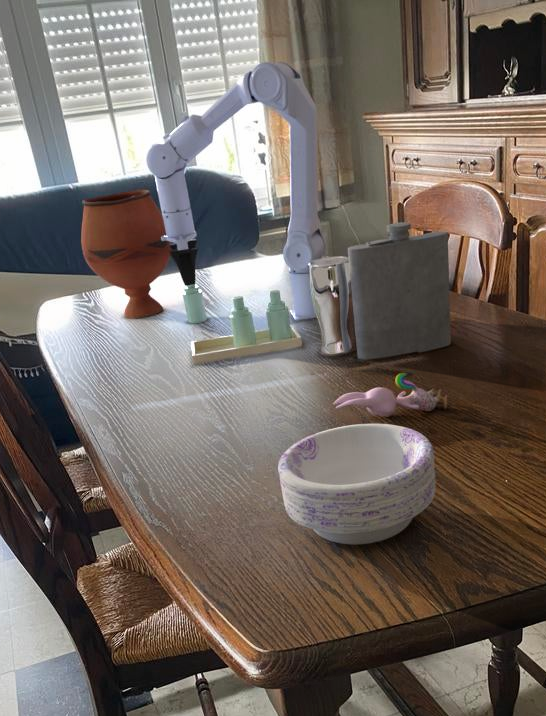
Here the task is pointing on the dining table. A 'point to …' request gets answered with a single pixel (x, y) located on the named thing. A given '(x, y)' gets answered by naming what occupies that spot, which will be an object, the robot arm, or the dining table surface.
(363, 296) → the hip flask
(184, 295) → the loose bottle
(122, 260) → the goblet
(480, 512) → the dining table surface
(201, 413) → the dining table surface
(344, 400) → the rabbit figure
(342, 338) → the beer glass
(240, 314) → the bottle
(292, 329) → the tray
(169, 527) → the dining table surface
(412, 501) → the paper bowls
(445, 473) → the dining table surface
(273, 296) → the bottle
